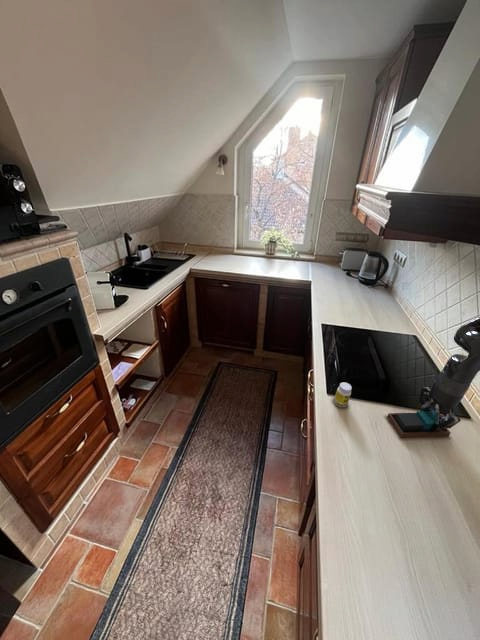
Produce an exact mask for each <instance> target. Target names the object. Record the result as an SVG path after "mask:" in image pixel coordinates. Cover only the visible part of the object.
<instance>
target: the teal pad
mask: <svg viewBox="0 0 480 640" xmlns="http://www.w3.org/2000/svg"><path fill="white" fill-rule="evenodd" d="M415 413H416V415H417V416H418V417H419V419H420V420H421V421H422V422H423V424H424V427H423V429H422V430H423V431H428V430H430V429H431V427H432V426H433V424H434V422H435V420H436V417H435V410H430V411H421V410H417V411H416V412H415ZM440 421H441V419H440ZM441 430H442V428H441Z"/></svg>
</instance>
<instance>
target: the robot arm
mask: <svg viewBox="0 0 480 640" xmlns="http://www.w3.org/2000/svg"><path fill="white" fill-rule="evenodd" d="M453 342H454V343H455V344H456V345H457V346H458V347H460V348H461V349H462V350H463V351H464V352H466V353H467V355H465V354H461V353H455V354H452V355H450V357H449V358H448V359H447V361H446V363H445V364H444V367H443V368H442V370H441V371H440V372H439V374H438V375H437V377H436V378H435V381H434V382H433V384H432V386H431V387H430V386H428V387H427V386H424V387H423V386H422V387H421V390H420V394H419V398H418V402H419V403H420V404H421V409H420V411H431V409H433V411H435V417H436V420H435V422H434V424H433V426H432V427H431V429H430V430H431V431H434V432H439V431H440V430H441V428H442V429H446V428H447V429H451V428H453V427H454V426H456V425H457V424H459V423H460V422H461V418H460V417H459V416H458V417H457V416H456V415H455V413H454V412H455V408H456V407H457V406H458V405H459V404H460V402H461V401H462V399H463V398H464V396H465V395H466V393H467V392H468V391H469V389H470V387H471V384H472V382H473V380H474V379H475V378H476V377H477V374H478V373H479V372H480V316H479V317H477V318H475V319H473V320H471V321H468V322H466V323H464V324H463V325H461V326H459V327H458V328H457V329H456V331H455V332H454V334H453ZM440 419H441V421H440Z"/></svg>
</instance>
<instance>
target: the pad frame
mask: <svg viewBox="0 0 480 640" xmlns="http://www.w3.org/2000/svg"><path fill="white" fill-rule="evenodd" d="M396 413H397V412H389V413H388V414H387V416H386V418H387V420H388V422H389V423H390V424H391V426H392V428H393V429H394V431H395V432H396V434H397V435H398V437H399V438H400V439H421V438H423V439H424V438H425V439H426V438H427V439H428V438H449V436H450V435H451V434H452V432H451V431H450V430H449V428H446V429H442V430H440V431H439V432H434V431H431V430H428V431H423V430H421V432H407V433H403V431H402V430H401V428H400V427H399V425H398V424H397V423H396V421H395V420H394V417H395V415H396ZM414 413H415V414H416V413H417V412H414Z"/></svg>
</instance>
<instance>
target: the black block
mask: <svg viewBox="0 0 480 640" xmlns="http://www.w3.org/2000/svg"><path fill="white" fill-rule="evenodd" d="M395 413H396V415H395V417H394V420H395V421H396V423H397V424H398V425H399V427H400V428H401V430H402V431H403V433H407V432H421V430H422V429H423V427H424V424H423V422H422V421H421V420H420V419H419V417H418V416H417V415H416V414H415V413H416V412H395Z"/></svg>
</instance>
